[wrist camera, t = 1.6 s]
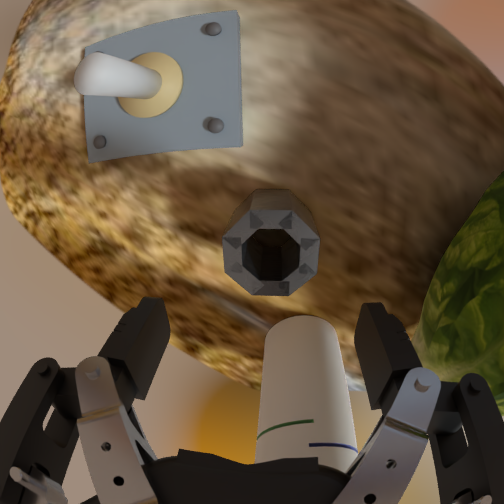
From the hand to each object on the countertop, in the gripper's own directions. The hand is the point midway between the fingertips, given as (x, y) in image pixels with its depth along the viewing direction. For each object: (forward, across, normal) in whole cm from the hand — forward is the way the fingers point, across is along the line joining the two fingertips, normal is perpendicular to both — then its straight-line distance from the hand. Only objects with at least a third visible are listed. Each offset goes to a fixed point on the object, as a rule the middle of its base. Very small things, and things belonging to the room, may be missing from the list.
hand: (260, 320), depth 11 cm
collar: (+11, 0, 0) cm, 11 cm away
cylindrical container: (+11, -4, +12) cm, 17 cm away
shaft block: (+11, +8, -11) cm, 17 cm away
